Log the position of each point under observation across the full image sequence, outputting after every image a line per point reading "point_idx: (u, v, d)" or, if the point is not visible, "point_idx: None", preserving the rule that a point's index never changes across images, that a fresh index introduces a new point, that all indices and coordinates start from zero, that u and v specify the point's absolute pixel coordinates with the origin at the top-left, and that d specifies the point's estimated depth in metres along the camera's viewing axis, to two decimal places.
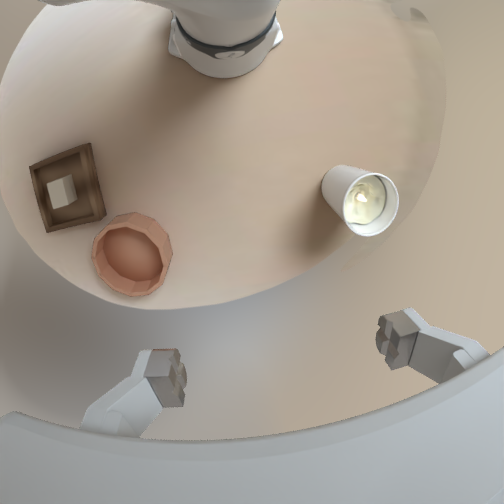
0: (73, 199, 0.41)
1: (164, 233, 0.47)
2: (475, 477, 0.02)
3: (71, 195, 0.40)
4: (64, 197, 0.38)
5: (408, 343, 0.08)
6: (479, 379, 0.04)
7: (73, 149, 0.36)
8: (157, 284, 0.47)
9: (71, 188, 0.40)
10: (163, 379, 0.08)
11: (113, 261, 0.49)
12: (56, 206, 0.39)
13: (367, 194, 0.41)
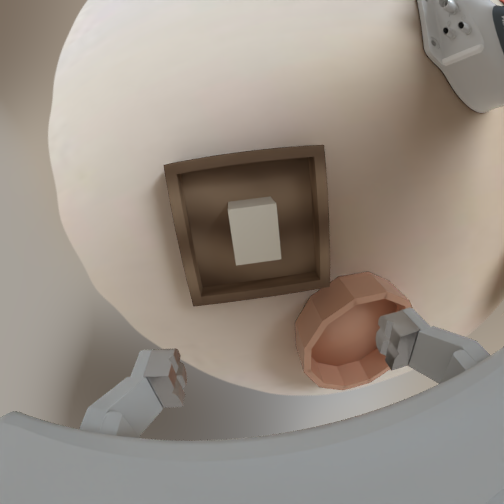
0: None
1: None
2: (475, 477, 0.02)
3: None
4: (274, 244, 0.23)
5: (408, 343, 0.08)
6: (479, 379, 0.04)
7: (300, 149, 0.22)
8: (387, 368, 0.30)
9: None
10: (163, 379, 0.08)
11: (315, 343, 0.32)
12: (246, 260, 0.24)
13: None
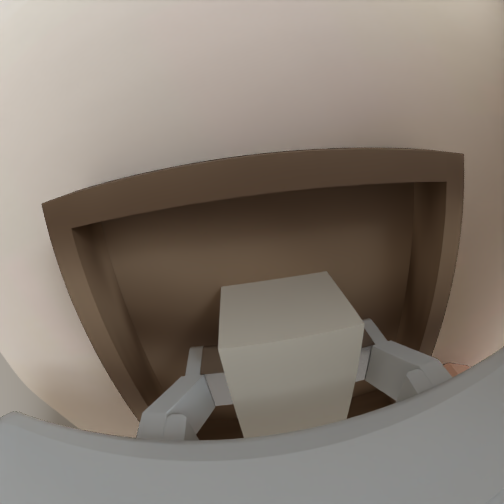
0: None
1: None
2: (475, 477, 0.02)
3: None
4: (338, 404, 0.08)
5: (361, 357, 0.08)
6: (479, 379, 0.04)
7: (422, 158, 0.07)
8: None
9: None
10: (222, 375, 0.08)
11: None
12: (269, 432, 0.08)
13: None
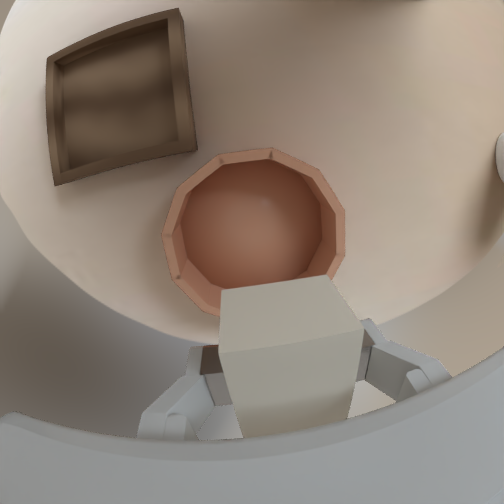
0: None
1: None
2: (475, 477, 0.02)
3: None
4: (337, 406, 0.08)
5: (361, 357, 0.08)
6: (479, 379, 0.04)
7: (154, 15, 0.15)
8: None
9: None
10: (222, 375, 0.08)
11: (201, 251, 0.25)
12: (269, 434, 0.08)
13: None
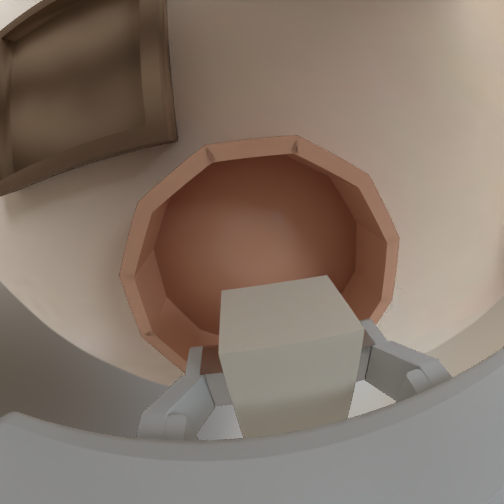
0: None
1: None
2: (475, 477, 0.02)
3: None
4: (337, 407, 0.08)
5: (361, 357, 0.08)
6: (479, 379, 0.04)
7: None
8: None
9: None
10: (222, 375, 0.08)
11: (185, 288, 0.17)
12: None
13: None
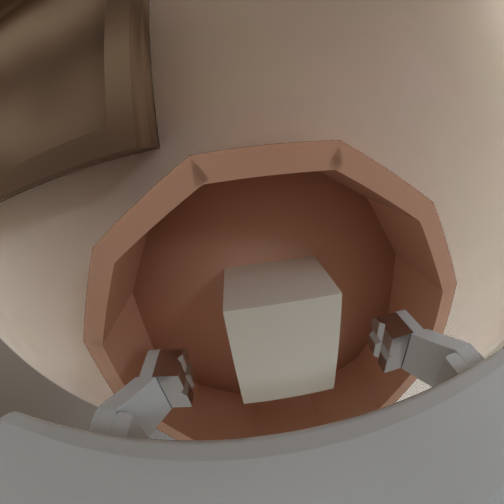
0: None
1: None
2: (475, 477, 0.02)
3: None
4: (325, 369, 0.10)
5: (400, 346, 0.08)
6: (479, 379, 0.04)
7: None
8: None
9: None
10: (173, 378, 0.08)
11: (177, 340, 0.13)
12: (266, 396, 0.10)
13: None
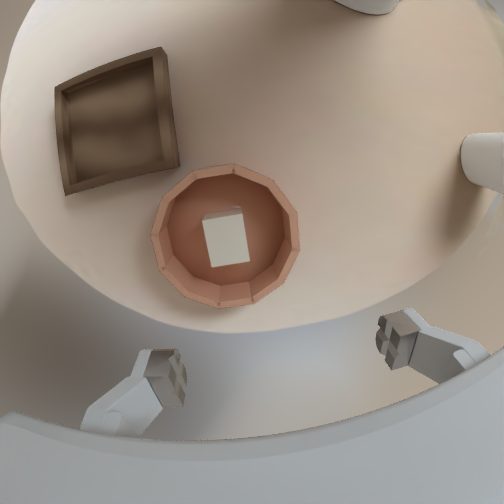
0: None
1: None
2: (475, 477, 0.02)
3: None
4: (243, 249, 0.28)
5: (408, 343, 0.08)
6: (479, 379, 0.04)
7: (141, 53, 0.21)
8: (274, 284, 0.29)
9: None
10: (163, 379, 0.08)
11: (184, 248, 0.31)
12: (220, 262, 0.28)
13: None
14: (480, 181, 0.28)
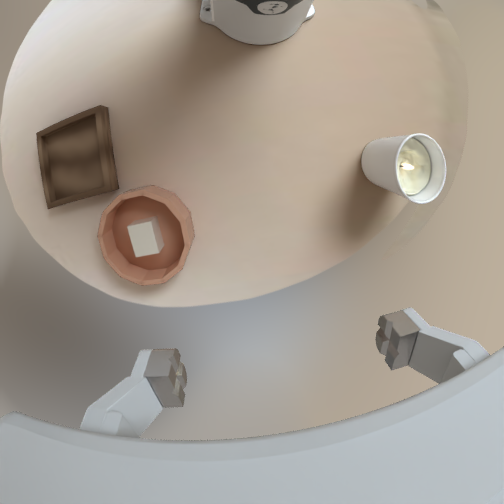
0: (161, 246, 0.41)
1: (187, 210, 0.41)
2: (475, 477, 0.02)
3: (159, 241, 0.40)
4: (153, 244, 0.39)
5: (408, 343, 0.08)
6: (479, 379, 0.04)
7: (88, 111, 0.32)
8: (175, 269, 0.40)
9: (158, 233, 0.41)
10: (163, 378, 0.08)
11: (123, 244, 0.42)
12: (140, 254, 0.39)
13: (411, 164, 0.35)
14: (377, 184, 0.39)
